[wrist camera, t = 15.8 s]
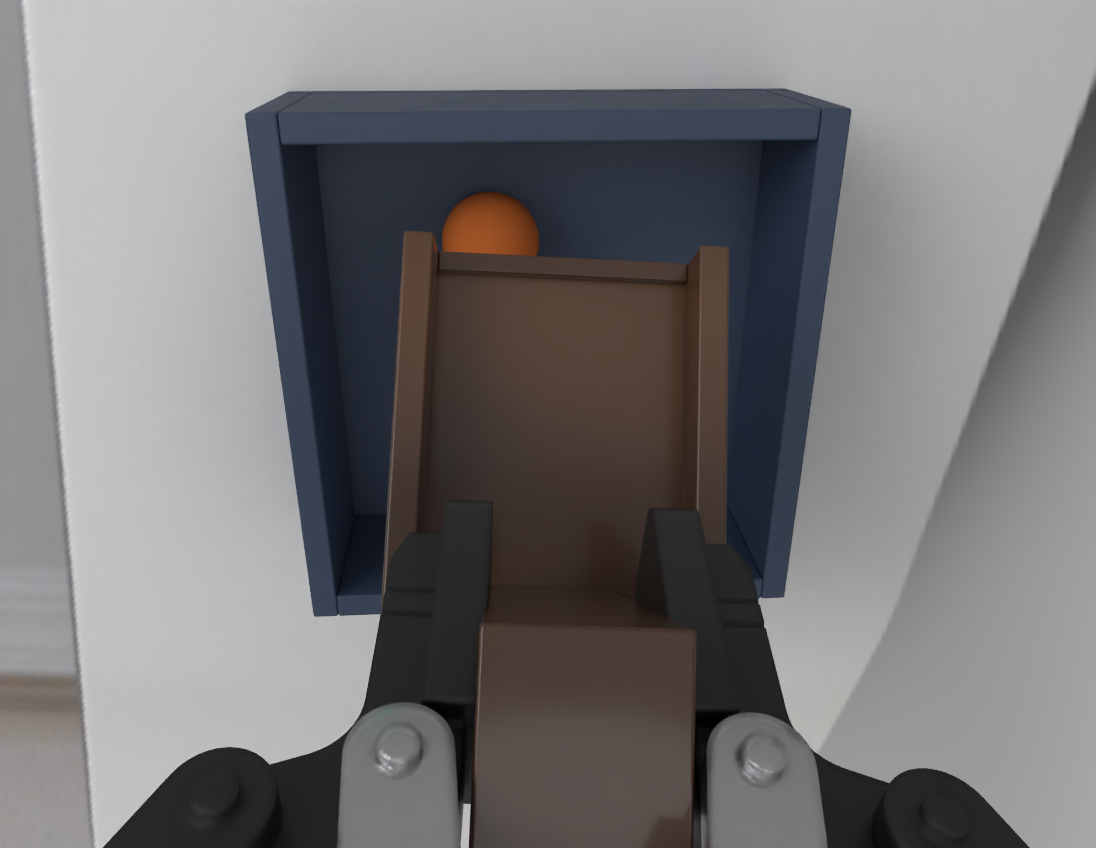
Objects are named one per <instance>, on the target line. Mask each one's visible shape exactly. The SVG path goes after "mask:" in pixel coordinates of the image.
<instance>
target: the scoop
mask: <svg viewBox="0 0 1096 848" xmlns="http://www.w3.org/2000/svg"><path fill="white" fill-rule="evenodd" d="M728 314H729V248H728V247H721V246H700V247H699V249H698V250H697V252H696V253H695V255H694V256H693V258H692V259H691V261H690V263H689V264H688V266H687V264H686V263H667V262H646V261H626V260H606V259H586V258H566V257H546V256H525V255H505V254H485V253H465V252H445V251H440V252H439V253H438V249H437V245H436V241H435V236H434V234H433V233H432V232H421V231H405V232H404V234H403V250H402V267H401V284H400V300H399V317H398V334H397V351H396V367H395V384H394V401H393V418H392V434H391V451H390V468H389V485H388V501H387V518H386V535H385V552H384V568H383V585H382V602H381V614H382V605H383V600H384V594H385V591H386V583H387V577H388V572H389V566H390V561H391V557H392V555H393V554H394V553H395V551H396V550H397V549H398V547H399V546H400V545H401V543H402V542H403V541H404V539H405V538H406V537H407V535H408V534H409V533H436V534H442V526H443V517H444V509H445V503H446V500H470V501H493V528H492V564H491V591H490V599H489V603H488V606H487V610H486V612H484V614H483V616H482V619H481V622H480V625H479V637H478V659H477V680H476V702H475V724H474V746H473V768H472V790H471V812H470V834H469V848H693V840H694V772H695V704H696V637H697V634H696V632H695V630H693V629H691V628H689V627H687V626H685V625H683V624H680V623H678V622H676V621H674V620H672V619H670V618H668V617H666V616H664V615H662V614H659V613H657V612H655V611H653V610H651V609H649V608H647V607H645V606H643V605H641V604H639V603H637V602H635V593H636V579H637V571H638V566H639V560H640V554H641V548H642V542H643V536H644V531H645V525H646V519H647V514H648V511H649V509H650V508H671V509H697V510H698V511H699V514H700V517H701V522H702V526H703V531H704V536H705V541H706V544H726V501H727V407H728Z"/></svg>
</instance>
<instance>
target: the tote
mask: <svg viewBox="0 0 1096 848" xmlns="http://www.w3.org/2000/svg"><path fill="white" fill-rule="evenodd" d="M850 117H851V109H850V108H847V107H844V106H840V105H837V104H834V103H830V102H827V101H824V100H821V99H817V98H814V97H811V96H808V95H804V94H801V93H798V92H795V91H791V90H788V89H648V90H480V91H313V92H287V93H285V94H283V95H281V96H279V97H277V98H275V99H273V100H271V101H269V102H267V103H265V104H264V105H262V106H260V107H258V108H256V109H254V110H252V111H250V112H248V113H246V114H245V120H246V128H247V135H248V142H249V149H250V157H251V164H252V171H253V178H254V186H255V193H256V200H257V207H258V215H259V222H260V229H261V236H262V244H263V251H264V258H265V265H266V273H267V280H268V287H269V294H270V302H271V309H272V316H273V323H274V331H275V338H276V345H277V352H278V360H279V367H280V374H281V381H282V389H283V396H284V403H285V410H286V418H287V425H288V432H289V439H290V447H291V454H292V461H293V468H294V476H295V483H296V490H297V497H298V505H299V512H300V519H301V526H302V534H303V541H304V548H305V555H306V563H307V570H308V577H309V584H310V592H311V599H312V606H313V613H314V616H316V617H318V616H337V615H338V613H339V615H340V616H344V615H368V614H381V602H382V585H383V568H384V552H385V535H386V518H387V501H388V485H389V468H390V451H391V434H392V418H393V401H394V384H395V367H396V351H397V334H398V317H399V300H400V284H401V267H402V250H403V234H404V232H405V231H421V232H432V233H433V234H434V236H435V241H436V245H437V249H438V253H439V252H440V251H443V248H442V233H443V228H444V224H445V222H446V219H447V217H448V216H449V214H450V212H451V211H452V210H453V209H454V207H455V206H456V205H457V204H458V203H460V202H461V201H462V200H464V199H465V198H467V197H469V196H471V195H473V194H477V193H481V192H499V193H503V194H507V195H509V196H511V197H513V198H515V199H516V200H518V201H519V202H521V203H522V204H523V205H524V206H525V207H526V208H527V209H528V211H529V212H530V213H531V215H532V217H533V219H534V221H535V223H536V226H537V229H538V234H539V249H538V254H537V256H546V257H566V258H586V259H606V260H626V261H646V262H667V263H686V264H687V266H688V264H689V263H690V261H691V259H692V258H693V256H694V255H695V253H696V252H697V250H698V249H699V247H700V246H721V247H728V248H729V314H728V407H727V501H726V545H732V546H733V547H734V549H735V550H736V551H737V553H738V554H739V555H740V557H741V558H742V559H743V560H744V562H745V563H746V564H747V566H748V567H749V568H750V570H751V572H752V576H753V580H754V584H755V588H756V592H757V596H758V598H760V597H761V598H779V597H784V593H785V586H786V578H787V571H788V564H789V557H790V549H791V542H792V535H793V528H794V521H795V513H796V506H797V499H798V492H799V485H800V477H801V470H802V463H803V456H804V448H805V441H806V434H807V427H808V420H809V412H810V405H811V398H812V391H813V384H814V376H815V369H816V362H817V355H818V348H819V340H820V333H821V326H822V319H823V311H824V304H825V297H826V290H827V283H828V275H829V268H830V261H831V254H832V247H833V239H834V232H835V225H836V218H837V210H838V203H839V196H840V189H841V182H842V174H843V167H844V160H845V153H846V146H847V138H848V131H849V124H850Z"/></svg>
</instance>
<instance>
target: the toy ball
mask: <svg viewBox="0 0 1096 848" xmlns="http://www.w3.org/2000/svg"><path fill="white" fill-rule="evenodd" d="M442 248H443V251H445V252H465V253H485V254H505V255H525V256H537V254H538V249H539V234H538V229H537V226H536V223H535V221H534V219H533V217H532V215H531V213H530V212H529V211H528V209H527V208H526V207H525V206H524V205H523V204H522V203H521V202H519V201H518V200H516V199H515V198H513V197H511V196H509V195H507V194H503V193H499V192H481V193H477V194H473V195H471V196H469V197H467V198H465V199H464V200H462V201H461V202H460V203H458V204H457V205H456V206H455V207H454V209H453V210H452V211H451V212H450V214H449V216H448V217H447V219H446V222H445V224H444V228H443V233H442Z"/></svg>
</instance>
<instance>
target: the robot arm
mask: <svg viewBox="0 0 1096 848" xmlns="http://www.w3.org/2000/svg"><path fill="white" fill-rule="evenodd" d="M492 528H493V501H470V500H446V503H445V509H444V517H443V526H442V534H436V533H409V534H408V535H407V537H406V538H405V539H404V541H403V542H402V543H401V545H400V546H399V547H398V549H397V550H396V551H395V553H394V554H393V555H392V557H391V561H390V566H389V572H388V577H387V583H386V591H385V594H384V600H383V605H382V614H381V616H380V622H379V627H378V633H377V638H376V644H375V649H374V655H373V660H372V666H371V672H370V677H369V683H368V688H367V694H366V699H365V703H364V706H363V709H362V711H361V713H360V715H359V717H358V719H357V720H356V722H355V723H354V725H353V726H352V727H351V728H350V729H349V730H348V731H347V732H346V733H345V734H344V735H343V736H342V737H341V738H339V739H338V740H337V741H335V742H334V743H332V744H330V745H329V746H327V747H325V748H323V749H321V750H318V751H316V752H313V753H310V754H307V755H303V756H299V757H296V758H292V759H289V760H285V761H281V762H278V763H274V764H271V765H269V764H268V763H267V762H266V761H265V760H264V759H263V758H262V757H260V756H259V755H257V754H256V753H254V752H251V751H249V750H246V749H241V748H233V747H226V748H217V749H213V750H209V751H206V752H203V753H201V754H198V755H196V756H194V757H193V758H191V759H189V760H187V761H186V762H185V763H183V764H182V765H180V766H179V767H178V768H177V769H176V770H175V771H174V772H173V773H172V774H171V775H170V776H169V777H168V778H167V779H166V780H165V781H164V782H163V783H162V784H161V785H160V786H159V788H158V789H157V790H156V791H155V792H154V793H153V794H152V795H151V796H150V797H149V798H148V799H147V801H146V802H145V803H144V804H143V805H142V806H141V807H140V808H139V809H138V810H137V811H136V812H135V813H134V815H133V816H132V817H131V818H130V819H129V820H128V821H127V822H126V823H125V824H124V825H123V826H122V828H121V829H120V830H119V831H118V832H117V833H116V834H115V835H114V836H113V837H112V838H111V839H110V841H109V842H108V843H107V844H106V845H105V846H104V847H103V848H461V846H460V842H461V830H462V816H463V804H471V790H472V768H473V746H474V724H475V702H476V680H477V659H478V637H479V625H480V622H481V619H482V616H483V614H484V612H486V610H487V606H488V603H489V599H490V591H491V564H492ZM635 602H637V603H639V604H641V605H643V606H645V607H647V608H649V609H651V610H653V611H655V612H657V613H659V614H662V615H664V616H666V617H668V618H670V619H672V620H674V621H676V622H678V623H680V624H683V625H685V626H687V627H689V628H691V629H693V630H695V632H696V634H697V637H696V704H695V772H694V840H693V848H1029V847H1028V846H1027V844H1026V843H1025V842H1024V841H1023V840H1022V839H1021V838H1020V837H1019V836H1018V835H1017V834H1016V833H1015V832H1014V830H1013V829H1012V828H1011V827H1010V826H1009V825H1008V824H1007V823H1006V822H1005V821H1004V820H1003V819H1002V818H1001V816H1000V815H999V814H998V813H997V812H996V811H995V810H994V809H993V808H992V807H991V806H990V805H989V804H988V802H986V800H985V799H984V798H983V797H981V795H980V794H979V793H978V792H977V791H975V790H974V789H973V788H972V787H970V786H969V785H967V784H966V783H965V782H963V781H962V780H960V779H958V778H957V777H954V776H952V775H950V774H947V773H945V772H942V771H938V770H933V769H927V768H926V769H925V768H921V769H920V768H919V769H913V770H908V771H905V772H903V773H901V774H899V775H898V776H897V777H895V778H894V779H893V780H892V781H891V782H890V783H887V782H884V781H881V780H877V779H875V778H872V777H868V776H866V775H863V774H859V773H856V772H853V771H850V770H847V769H845V768H842V767H840V766H837V765H835V764H833V763H831V762H829V761H827V760H825V759H824V758H822V757H821V756H820V755H818V754H817V753H815V752H814V751H813V750H812V749H811V748H810V747H809V745H808V744H807V742H806V741H805V740H804V738H803V737H802V736H801V735H800V734H799V733H798V732H797V731H796V730H795V729H794V728H793V726H792V724H791V722H790V720H789V717H788V714H787V711H786V707H785V703H784V699H783V695H782V691H781V687H780V683H779V679H778V675H777V671H776V667H775V663H774V659H773V655H772V652H771V648H770V644H769V640H768V636H767V632H766V628H764V620H763V616H762V612H761V608H760V605H758V596H757V592H756V588H755V584H754V580H753V576H752V572H751V570H750V568H749V567H748V566H747V564H746V563H745V562H744V560H743V559H742V558H741V557H740V555H739V554H738V553H737V551H736V550H735V549H734V547H733V546H732V545H726V544H706V541H705V536H704V531H703V526H702V522H701V517H700V514H699V511H698V510H697V509H671V508H650V509H649V511H648V514H647V519H646V525H645V531H644V536H643V542H642V548H641V554H640V560H639V566H638V571H637V579H636V593H635Z"/></svg>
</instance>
